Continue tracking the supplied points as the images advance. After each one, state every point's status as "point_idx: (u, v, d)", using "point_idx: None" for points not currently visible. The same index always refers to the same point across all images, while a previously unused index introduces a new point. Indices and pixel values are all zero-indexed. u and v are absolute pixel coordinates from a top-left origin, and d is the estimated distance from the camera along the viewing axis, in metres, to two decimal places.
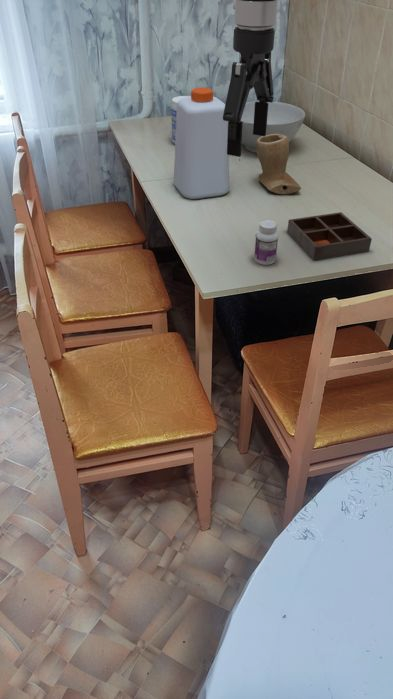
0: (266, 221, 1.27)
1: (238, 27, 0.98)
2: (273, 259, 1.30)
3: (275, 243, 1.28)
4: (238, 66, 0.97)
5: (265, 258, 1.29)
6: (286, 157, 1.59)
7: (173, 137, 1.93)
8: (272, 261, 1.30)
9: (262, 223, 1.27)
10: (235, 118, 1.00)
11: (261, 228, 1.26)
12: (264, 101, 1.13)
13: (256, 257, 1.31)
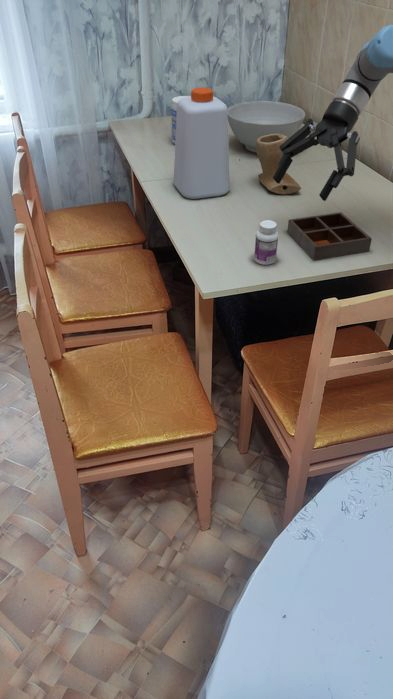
0: (266, 221, 1.27)
1: None
2: (273, 259, 1.30)
3: (275, 243, 1.28)
4: None
5: (265, 258, 1.29)
6: None
7: (173, 137, 1.93)
8: (272, 261, 1.30)
9: (262, 223, 1.27)
10: (280, 146, 1.32)
11: (261, 228, 1.26)
12: None
13: (256, 257, 1.31)
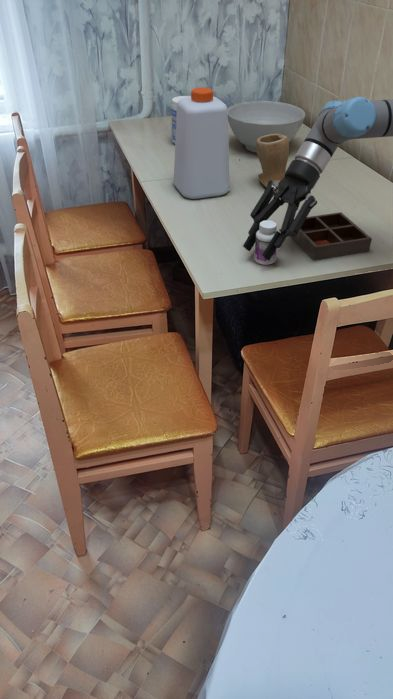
0: (266, 221, 1.27)
1: None
2: (273, 259, 1.30)
3: None
4: None
5: (265, 258, 1.29)
6: (286, 157, 1.59)
7: (173, 137, 1.93)
8: (272, 261, 1.30)
9: (262, 223, 1.27)
10: (251, 214, 1.30)
11: (261, 228, 1.26)
12: None
13: (256, 257, 1.31)
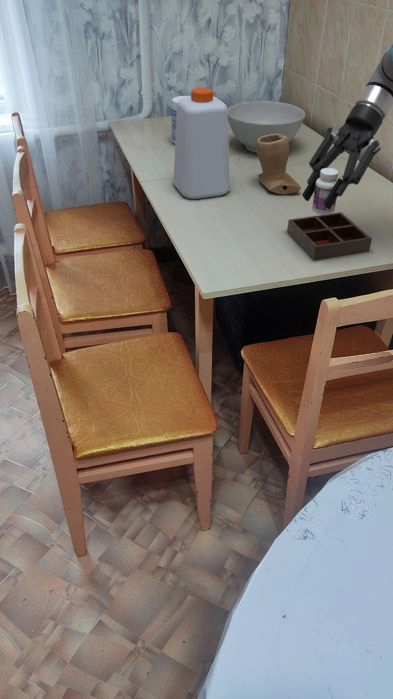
0: (327, 168, 1.24)
1: None
2: (332, 209, 1.27)
3: None
4: None
5: (324, 208, 1.26)
6: (286, 157, 1.59)
7: (173, 137, 1.93)
8: (331, 211, 1.27)
9: (323, 170, 1.23)
10: (310, 162, 1.27)
11: (322, 175, 1.23)
12: None
13: (315, 207, 1.27)
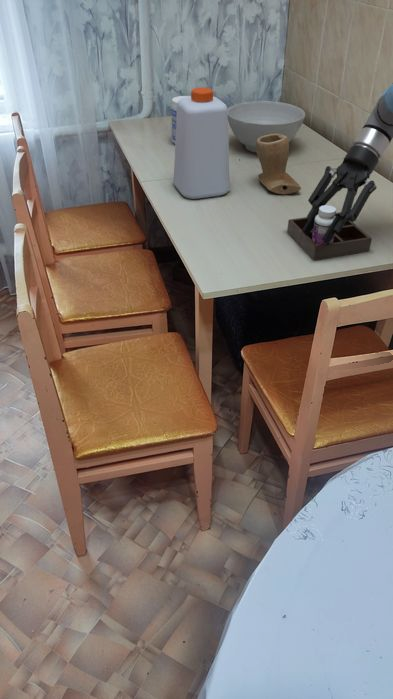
0: (325, 206, 1.30)
1: None
2: None
3: None
4: None
5: (323, 243, 1.32)
6: (286, 157, 1.59)
7: (173, 137, 1.93)
8: None
9: (321, 208, 1.29)
10: (309, 199, 1.33)
11: (321, 213, 1.29)
12: None
13: (314, 241, 1.34)
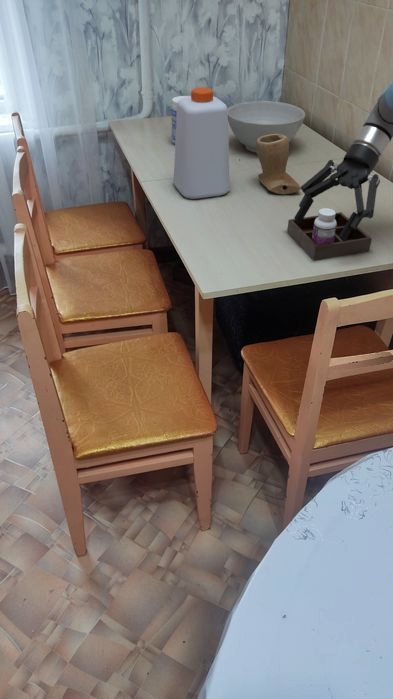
0: (325, 209, 1.31)
1: None
2: None
3: (333, 231, 1.31)
4: None
5: None
6: (286, 157, 1.59)
7: (173, 137, 1.93)
8: None
9: (321, 211, 1.30)
10: (302, 186, 1.35)
11: (320, 216, 1.29)
12: None
13: None
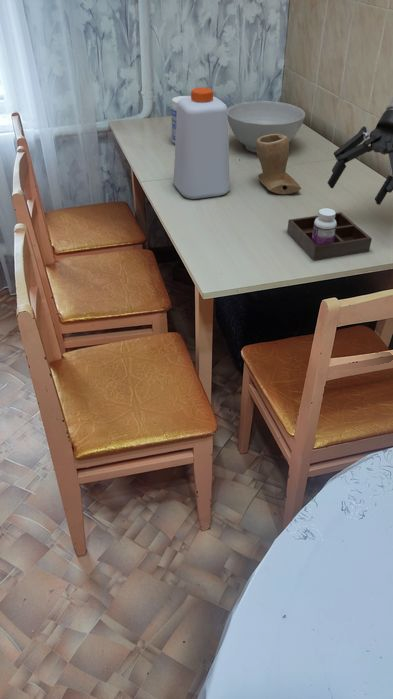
0: (325, 209, 1.31)
1: None
2: None
3: (333, 231, 1.31)
4: None
5: None
6: (286, 157, 1.59)
7: (173, 137, 1.93)
8: None
9: (321, 211, 1.30)
10: (335, 152, 1.38)
11: (320, 216, 1.29)
12: None
13: None
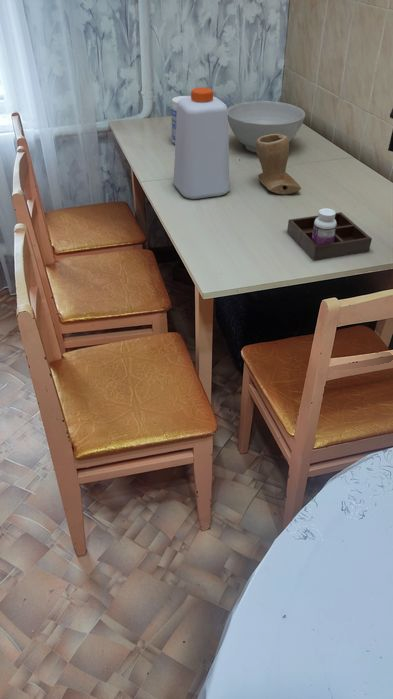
0: (325, 209, 1.31)
1: None
2: None
3: (333, 231, 1.31)
4: None
5: None
6: (286, 157, 1.59)
7: (173, 137, 1.93)
8: None
9: (321, 211, 1.30)
10: None
11: (320, 216, 1.29)
12: None
13: None
